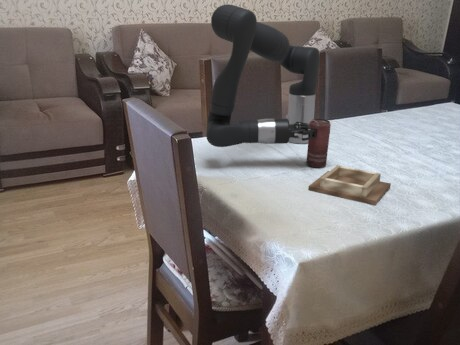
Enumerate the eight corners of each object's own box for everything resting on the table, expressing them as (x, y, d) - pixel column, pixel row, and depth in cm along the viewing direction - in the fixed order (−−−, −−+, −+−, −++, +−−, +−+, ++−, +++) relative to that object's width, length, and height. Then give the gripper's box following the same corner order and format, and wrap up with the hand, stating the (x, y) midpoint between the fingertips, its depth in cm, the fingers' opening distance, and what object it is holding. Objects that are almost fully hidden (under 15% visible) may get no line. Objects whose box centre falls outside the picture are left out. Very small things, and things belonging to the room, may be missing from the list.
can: (303, 161, 143) (307, 118, 139) (322, 161, 144) (327, 118, 139) (307, 167, 138) (312, 123, 133) (328, 168, 138) (333, 123, 133)
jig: (308, 190, 122) (309, 177, 121) (327, 174, 133) (328, 162, 132) (375, 205, 113) (377, 191, 112) (390, 187, 124) (391, 174, 123)
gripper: (275, 124, 129) (336, 124, 130) (270, 113, 142) (325, 113, 142) (274, 149, 132) (333, 149, 133) (269, 136, 144) (323, 136, 145)
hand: (329, 130), depth 137 cm, fingers closed
